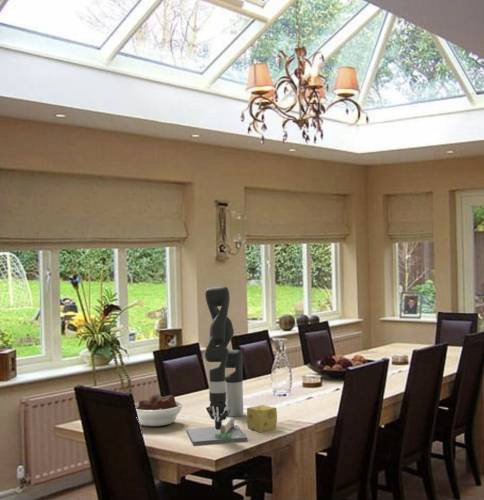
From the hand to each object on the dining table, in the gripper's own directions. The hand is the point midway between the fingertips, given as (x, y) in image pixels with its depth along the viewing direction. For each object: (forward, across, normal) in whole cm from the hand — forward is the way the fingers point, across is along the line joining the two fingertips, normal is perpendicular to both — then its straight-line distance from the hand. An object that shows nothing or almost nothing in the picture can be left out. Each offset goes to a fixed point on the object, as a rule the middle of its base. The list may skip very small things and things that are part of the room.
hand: (218, 429), depth 322 cm
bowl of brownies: (+4, -42, +3) cm, 42 cm away
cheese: (+4, +7, +23) cm, 25 cm away
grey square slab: (+4, -2, +1) cm, 4 cm away
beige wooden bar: (+2, 0, +5) cm, 6 cm away
